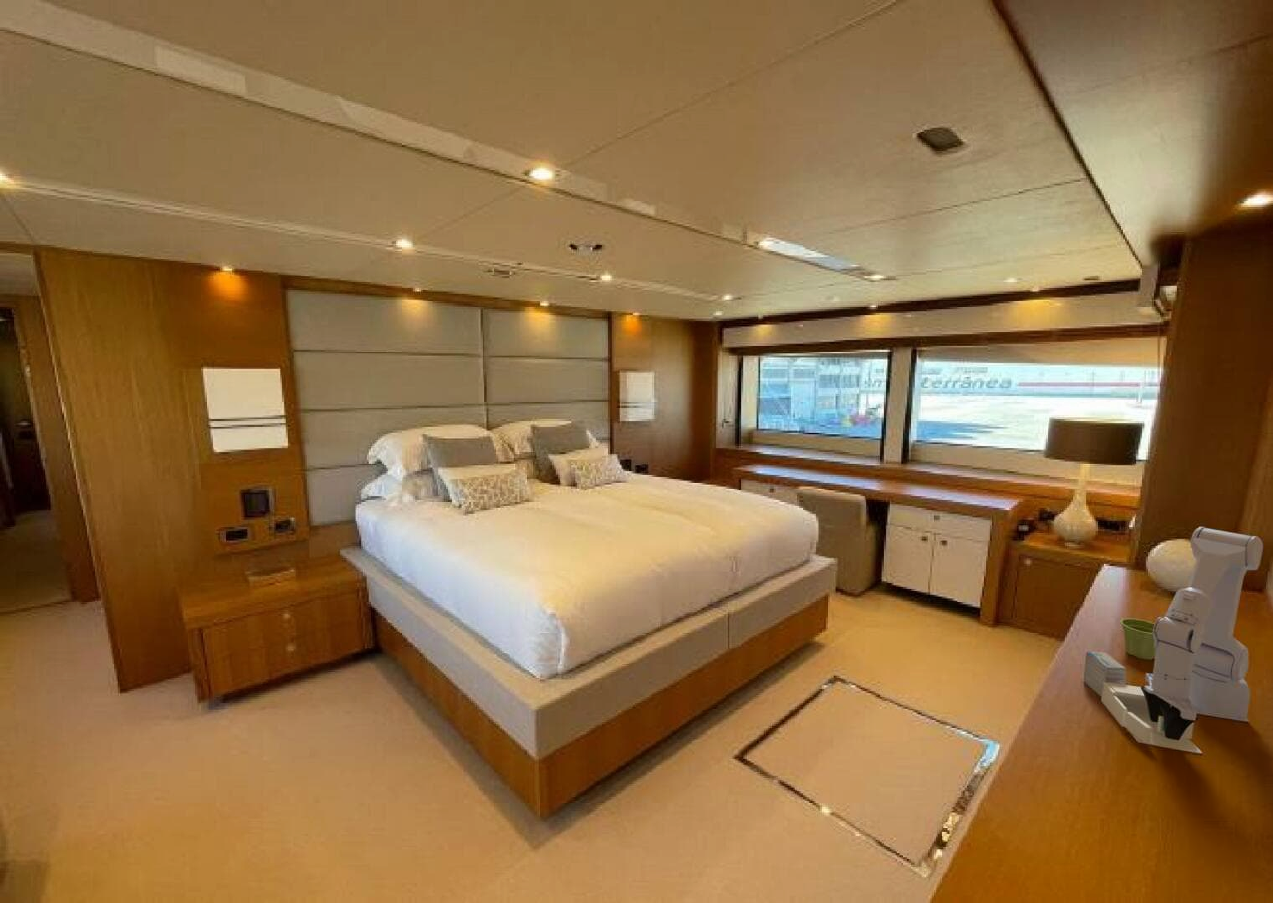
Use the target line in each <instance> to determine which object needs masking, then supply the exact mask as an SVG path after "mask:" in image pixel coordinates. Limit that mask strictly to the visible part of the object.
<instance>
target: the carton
mask: <svg viewBox="0 0 1273 903" xmlns="http://www.w3.org/2000/svg"><path fill="white" fill-rule="evenodd" d="M1141 687H1142V686H1134V685H1129V684H1128V685H1127V684H1125V685H1123V684H1116V683H1110V682H1107V683H1106V682H1103V690H1102V697H1101V700H1100V702H1101V703H1102V704H1103V706H1105V708H1106V709H1107V710H1108V712H1110V714H1111V715H1112V717H1114V719H1115V720H1116V721H1117V723H1118V724H1119V725H1120V726H1121V727H1122V728H1123V727H1124V728H1125V729H1127V730H1128V732H1129V733H1130V735H1131V736H1132V737H1133V738H1134V739H1135V741H1136V742H1137V743H1141V744H1144V745H1151V746H1156V747H1162V748H1167V749H1171V750H1172V749H1173V750H1179V751H1182V752H1183V751H1184V752H1189V753H1193V754H1195V753H1196V754H1200V755H1203V752H1202V750H1200V749H1199V748H1198V746H1196V744H1195V743H1194V742H1193V741H1192V739H1189V738H1184V737H1181V738H1180V740H1173V739H1168V738H1166V737H1165V734H1161V733H1159V732H1158V731H1157V725H1158V723H1157V722H1152V721H1151V720H1150V716H1149V711H1148V706H1147V702H1146V698H1145V696H1144V694H1143V692H1142V690H1141ZM1170 707H1172V705H1171V706H1170Z"/></svg>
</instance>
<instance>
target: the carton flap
mask: <svg viewBox="0 0 1273 903" xmlns="http://www.w3.org/2000/svg"><path fill="white" fill-rule="evenodd" d="M1157 731H1158V732H1159V733H1161V734H1165V733H1164V718H1163V716H1159V718H1158V725H1157ZM1193 732H1194V723H1192V724H1191V725H1190V726H1189V727H1188V728H1187V729H1186V730H1185V732H1184V733H1183V735H1182V737H1184V738H1189V739H1190V740H1192V738H1193V737H1192V736H1193Z"/></svg>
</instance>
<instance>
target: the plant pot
mask: <svg viewBox="0 0 1273 903" xmlns="http://www.w3.org/2000/svg"><path fill="white" fill-rule="evenodd" d="M1120 624H1121V625H1122V628H1123V635H1124V648H1125V652H1126V653H1127V654H1128V655H1130V656H1133V657H1136V658H1138V659H1141V660H1147V661H1148V660H1149V661H1151V660H1153V659H1155V655H1156V648H1154V638H1153V629H1154V625H1155V623H1153V622H1151V621H1147V620H1144V619H1137V618H1122V619H1121V620H1120Z"/></svg>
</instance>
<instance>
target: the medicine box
mask: <svg viewBox="0 0 1273 903" xmlns="http://www.w3.org/2000/svg"><path fill="white" fill-rule="evenodd" d="M1085 653H1086V654H1085V662H1084V671H1083V682H1084V684H1086V685H1087V686H1088V687H1089V688H1090V689H1091V690H1093V691H1094V692H1095V693H1096V694H1097V695H1098V696H1099V697H1101V698H1102V690H1103V682H1106V683H1107V682H1110V683H1116V684H1123V685H1126V675H1127V669H1126V667H1125V666H1124V665H1122V664H1120V662H1118V661H1117V660H1115V659H1114V657H1112V656H1110V655H1109V654H1108V653H1106V652H1099V651H1086V652H1085Z"/></svg>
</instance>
